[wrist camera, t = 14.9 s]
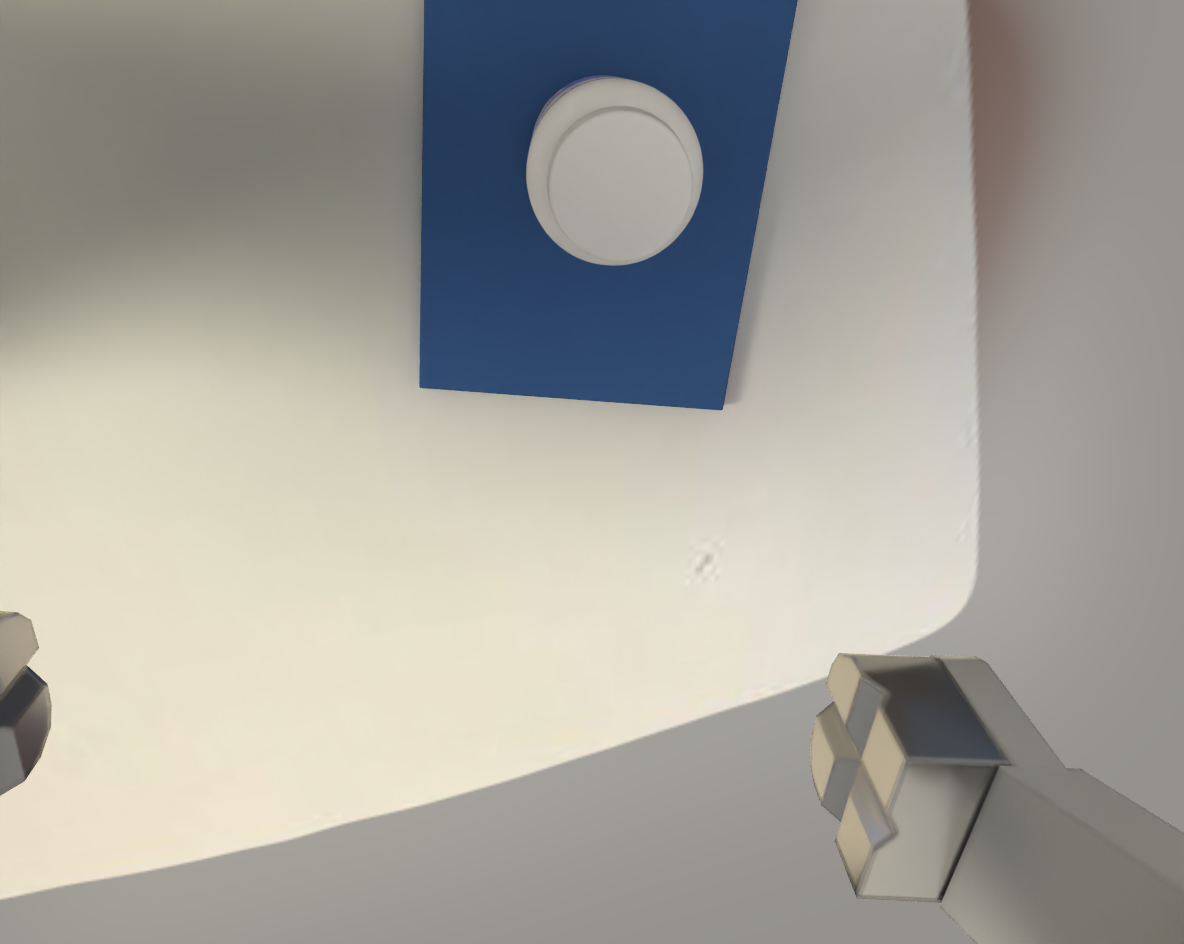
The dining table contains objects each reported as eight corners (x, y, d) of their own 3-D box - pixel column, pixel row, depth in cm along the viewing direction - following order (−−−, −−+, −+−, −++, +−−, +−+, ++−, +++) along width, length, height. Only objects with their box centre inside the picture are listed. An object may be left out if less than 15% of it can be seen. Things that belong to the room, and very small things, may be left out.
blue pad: (421, 383, 36) (419, 388, 35) (428, -202, 27) (426, -208, 26) (720, 405, 37) (722, 410, 36) (820, -147, 28) (825, -151, 28)
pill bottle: (691, 196, 32) (747, 248, 24) (561, 248, 33) (569, 317, 24) (645, 48, 30) (688, 45, 21) (505, 107, 31) (492, 128, 22)
